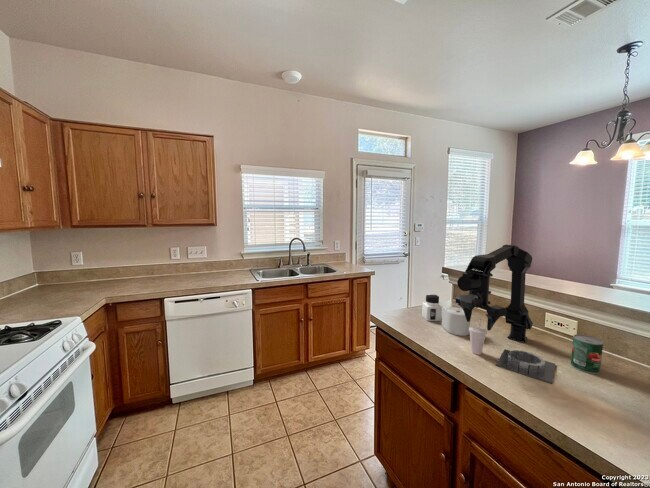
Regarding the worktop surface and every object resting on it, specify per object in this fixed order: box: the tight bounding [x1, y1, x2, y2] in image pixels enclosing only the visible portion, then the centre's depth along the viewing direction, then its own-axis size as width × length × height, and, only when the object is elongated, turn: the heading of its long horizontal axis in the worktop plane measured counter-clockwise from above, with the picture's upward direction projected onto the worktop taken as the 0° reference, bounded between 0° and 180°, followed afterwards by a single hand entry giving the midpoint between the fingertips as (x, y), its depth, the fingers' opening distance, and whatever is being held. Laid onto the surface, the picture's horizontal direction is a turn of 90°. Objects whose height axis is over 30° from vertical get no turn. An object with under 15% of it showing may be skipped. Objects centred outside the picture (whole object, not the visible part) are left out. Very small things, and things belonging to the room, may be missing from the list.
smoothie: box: [469, 318, 488, 356], centre depth 109 cm, size 6×6×14 cm
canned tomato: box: [569, 334, 604, 375], centre depth 98 cm, size 8×8×11 cm
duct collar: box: [495, 348, 556, 385], centre depth 100 cm, size 16×16×3 cm
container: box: [421, 293, 443, 322], centre depth 146 cm, size 8×8×13 cm
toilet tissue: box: [441, 306, 472, 337], centre depth 130 cm, size 11×12×10 cm
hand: (478, 325), depth 109 cm, fingers open, 9 cm apart
